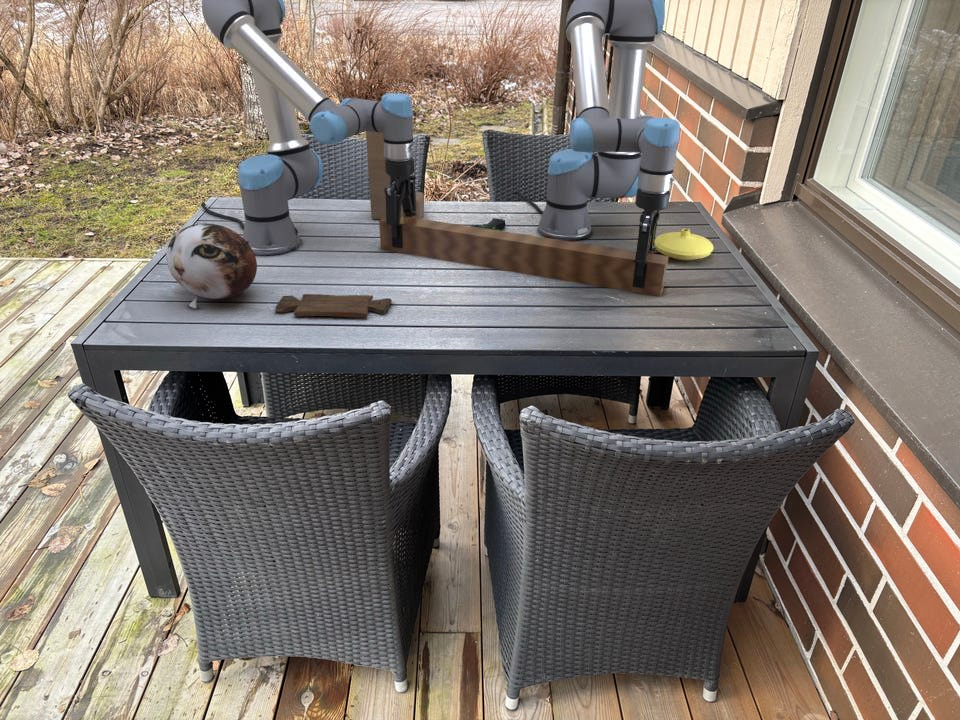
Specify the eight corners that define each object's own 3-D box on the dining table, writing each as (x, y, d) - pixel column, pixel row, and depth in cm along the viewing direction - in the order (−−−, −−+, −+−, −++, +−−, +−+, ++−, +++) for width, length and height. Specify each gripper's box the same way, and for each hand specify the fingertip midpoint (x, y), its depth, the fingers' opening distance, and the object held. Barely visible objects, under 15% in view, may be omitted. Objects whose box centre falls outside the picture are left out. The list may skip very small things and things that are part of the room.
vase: (666, 239, 204) (669, 216, 201) (720, 252, 197) (724, 228, 193) (642, 256, 193) (646, 231, 190) (698, 270, 185) (703, 245, 182)
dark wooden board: (386, 320, 160) (392, 301, 168) (386, 314, 159) (392, 294, 168) (271, 316, 160) (283, 297, 169) (270, 309, 159) (282, 290, 168)
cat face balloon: (130, 285, 161) (164, 203, 163) (192, 308, 177) (221, 233, 178) (195, 307, 151) (229, 220, 152) (254, 330, 166) (285, 250, 168)
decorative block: (419, 222, 214) (416, 119, 199) (370, 219, 216) (364, 116, 200) (424, 214, 220) (422, 113, 205) (377, 211, 222) (371, 111, 207)
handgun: (511, 219, 210) (493, 234, 198) (511, 228, 211) (492, 244, 199) (461, 212, 215) (440, 226, 203) (461, 221, 217) (440, 236, 204)
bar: (380, 249, 196) (379, 220, 191) (390, 242, 200) (388, 213, 196) (660, 296, 173) (665, 264, 168) (663, 287, 177) (668, 256, 173)
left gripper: (395, 169, 175) (399, 257, 187) (428, 150, 190) (429, 233, 202) (368, 165, 177) (374, 253, 189) (402, 147, 192) (405, 229, 204)
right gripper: (663, 203, 155) (649, 300, 167) (676, 180, 170) (662, 269, 182) (629, 199, 157) (617, 294, 169) (644, 176, 172) (632, 265, 184)
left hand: (402, 242), depth 195 cm, fingers open, 6 cm apart
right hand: (640, 281), depth 176 cm, fingers open, 6 cm apart
